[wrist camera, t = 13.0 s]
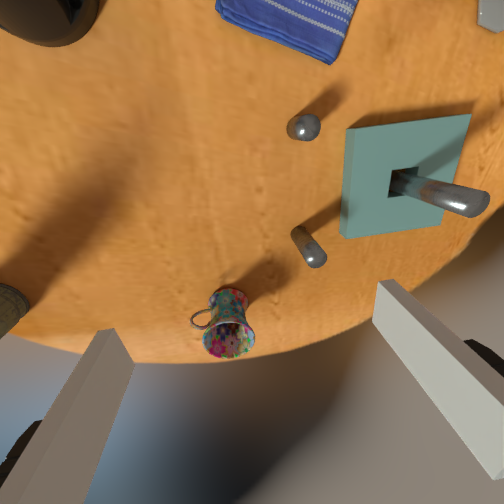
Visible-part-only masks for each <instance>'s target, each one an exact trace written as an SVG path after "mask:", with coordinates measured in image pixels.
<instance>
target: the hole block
mask: <svg viewBox="0 0 504 504" xmlns="http://www.w3.org/2000/svg"><path fill="white" fill-rule="evenodd" d="M471 115H472V114H461V115H450V116H443V117H435V118H427V119H420V120H412V121H404V122H397V123H389V124H381V125H374V126H366V127H358V128H351V129H346V141H345V155H344V170H343V185H342V199H341V214H340V229H339V233H340V234H341V235H342V236H343V237H344V238H346V239H350V238H357V237H364V236H370V235H377V234H384V233H391V232H397V231H404V230H411V229H417V228H424V227H431V226H438V225H440V224H441V221H442V217H443V214H444V210H445V209H443V208H440V207H437V206H434V205H432V204H429V203H426V202H423V201H420V200H418V199H415V198H412V197H409V196H406V195H404V194H401V193H398V192H395V191H394V192H388V191H389V185H390V179H391V172H392V170H397V169H404V168H406V170H405V173H408V174H413V175H417V176H421V177H426V178H430V179H434V180H438V181H443V182H447V183H451V184H452V182H453V178H454V175H455V171H456V168H457V164H458V161H459V157H460V154H461V150H462V147H463V143H464V140H465V136H466V133H467V129H468V126H469V122H470V119H471Z"/></svg>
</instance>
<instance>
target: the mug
mask: <svg viewBox="0 0 504 504" xmlns="http://www.w3.org/2000/svg"><path fill="white" fill-rule="evenodd" d="M247 308H248V300H247V298H246V296H245V295H244V294H243V293H242V292H240V291H238V290H236V289H222V290H219V291H217V292H215V293H214V294H213V295H212V296H211V297H210V299H209V302H208V309H204V310H201V311H198V312H196V313H195V314H194V315H193V316H192V317H191V319H190V324H191V326H192V327H193V328H195V329H199V330H203V329H206V328H207V327H208V326H209V327H208V328H207V330H206V331H205V333H204V335H203V338H202V343H203V346H204V348H205V350H206V351H207V352H208V353H209V354H211V355H213V356H215V357H218V358H224V359H230V358H236V357H239V356H242V355H244V354H245V353H247V352H248V351H249V350H250V349H251V348H252V346H253V345H254V342H255V334H254V332H253V330H252V328H251V327H250V326H249V325H248V323H247V321H246V317H245V312H246V310H247ZM206 312H210V313H211V316H212V317H211V322H210V321H209V322H208V324H207V325H205V326H198V325H196V324H194V323H193V321H192V320H193V318H194V317H195V316H197V315H199V314H201V313H206Z"/></svg>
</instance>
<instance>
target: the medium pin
mask: <svg viewBox="0 0 504 504" xmlns="http://www.w3.org/2000/svg"><path fill="white" fill-rule="evenodd" d="M291 238H292V240H293V241H294V243H295V245H296V246H297V248H298V250H299V251H300V253H301V254H302V256H303V258H304V259H305V261H306V262H307V264H308V266H310V267H311V268H319V267H321V266H323V265H324V264H325V263H326V261H327V254H326V253H325V252H324V250H323V249H322V248H321V247H320V246H319V244H318V243H317V242H316V241H315V240H314V238H313V237H312V236H311V235H310V233H309V232H308V231H307V230H306V229H305V228H304V227H302V226H297V227H295V228H294V229H293V230H292V231H291Z"/></svg>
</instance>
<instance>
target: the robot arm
mask: <svg viewBox="0 0 504 504" xmlns="http://www.w3.org/2000/svg"><path fill="white" fill-rule="evenodd" d="M98 6H99V0H0V28H1V29H3V30H5V31H6V32H8V33H10V34H12V35H14V36H17V37H19V38H21V39H23V40H26V41H28V42H30V43H33V44H36V45H40V46H46V47H61V46H66V45H69V44H72V43H74V42H76V41H77V40H79V39H80V38H81V37H83V36H84V35H85V34H86V32H87V31H88V30H89V29H90V27H91V25H92V24H93V22H94V19H95V17H96V14H97V11H98ZM372 322H373V324H374V325H375V326H376V327H377V329H378V330H379V331H380V333H381V334H382V335H383V337H384V338H385V339H386V341H387V342H388V343H389V345H390V346H391V347H392V348H393V350H394V351H395V352H396V354H397V355H398V356H399V358H400V359H401V360H402V362H403V363H404V364H405V365H406V367H407V368H408V369H409V371H410V372H411V373H412V375H413V376H414V377H415V379H416V380H417V381H418V383H419V384H420V385H421V386H422V388H423V389H424V390H425V392H426V393H427V394H428V396H429V397H430V398H431V400H432V401H433V402H434V403H435V405H436V406H437V407H438V409H439V410H440V411H441V413H442V414H443V415H444V416H445V418H446V419H447V420H448V422H449V423H450V424H451V426H452V427H453V428H454V430H455V431H456V432H457V434H458V435H459V436H460V438H461V439H462V440H463V441H464V443H465V444H466V445H467V447H468V448H469V449H470V451H471V452H472V453H473V455H474V456H475V457H476V459H477V460H478V461H479V462H480V464H481V465H482V466H483V468H484V469H485V470H486V472H487V473H488V474H489V476H490V477H491V478H492V479H493V480H497V479H501V478H504V360H503V359H502V358H501V357H499V356H498V355H497V354H496V353H495V352H493V351H492V350H491V349H489V348H487V347H485V346H484V345H482V344H480V343H478V342H477V341H475V340H473V339H470V340H466V341H462V340H461V339H460V338H459V337H458V336H456V335H455V334H454V333H453V332H452V331H451V330H450V329H449V328H447V327H446V326H445V325H444V324H443V323H442V322H441V321H440V320H439V319H438V318H436V317H435V316H434V315H433V314H432V313H431V312H430V311H429V310H427V309H426V308H425V307H424V306H423V305H422V304H420V302H418V301H417V300H416V299H415V298H414V297H413V296H412V295H411V294H410V293H408V292H407V291H406V290H405V289H404V288H403V287H402V286H401V285H399V284H398V283H397V282H396V281H395V280H394V279H390V280H384V281H378V287H377V293H376V300H375V306H374V313H373V319H372ZM134 367H135V364H134V362H133V360H132V358H131V357H130V355H129V353H128V352H127V350H126V348H125V346H124V345H123V343H122V341H121V340H120V338H119V336H118V334H117V333H116V331H115V329H114V328H112V329H106V330H101V331H98V332H97V333H96V335H95V336H94V338H93V340H92V341H91V343H90V345H89V346H88V348H87V349H86V351H85V353H84V354H83V356H82V358H81V359H80V361H79V362H78V364H77V366H76V367H75V369H74V370H73V372H72V374H71V375H70V377H69V378H68V380H67V382H66V383H65V385H64V387H63V388H62V390H61V391H60V393H59V395H58V396H57V398H56V399H55V401H54V403H53V404H52V406H51V408H50V409H49V411H48V412H47V414H46V416H45V417H44V419H43V420H39V421H35V422H34V423H33V424H32V425H31V426H30V427H29V428H28V429H27V430H26V431H25V432H24V433H23V434H22V435H21V436H20V437H19V439H18V440H17V441H16V443H15V445H14V446H13V447H12V449H11V450H10V452H9V453H8V455H7V456H6V458H5V461H4V462H2V464H1V465H0V504H83V503H84V500H85V497H86V495H87V492H88V489H89V487H90V484H91V481H92V479H93V476H94V473H95V471H96V468H97V465H98V463H99V460H100V457H101V455H102V452H103V449H104V447H105V444H106V441H107V439H108V436H109V433H110V431H111V428H112V425H113V423H114V420H115V417H116V415H117V412H118V409H119V407H120V404H121V401H122V399H123V396H124V393H125V391H126V388H127V385H128V383H129V380H130V377H131V375H132V372H133V369H134Z"/></svg>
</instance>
